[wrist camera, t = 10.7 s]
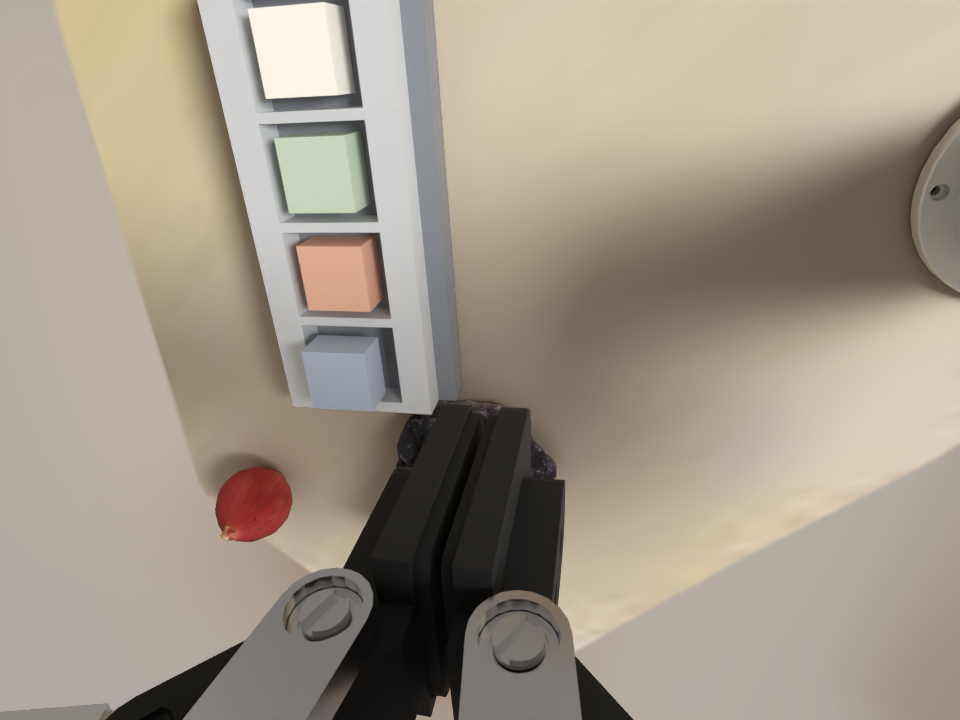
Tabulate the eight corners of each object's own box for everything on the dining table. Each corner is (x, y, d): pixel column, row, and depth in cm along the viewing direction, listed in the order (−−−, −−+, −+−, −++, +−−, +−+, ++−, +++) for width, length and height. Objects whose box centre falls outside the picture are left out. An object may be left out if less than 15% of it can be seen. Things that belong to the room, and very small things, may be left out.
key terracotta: (375, 235, 36) (360, 246, 34) (383, 297, 38) (370, 311, 36) (313, 235, 37) (295, 246, 35) (325, 296, 39) (308, 310, 37)
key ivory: (343, 6, 30) (323, 2, 28) (355, 93, 32) (337, 95, 30) (272, 12, 31) (247, 8, 29) (287, 96, 33) (265, 98, 31)
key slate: (377, 337, 37) (363, 354, 35) (385, 392, 39) (373, 411, 37) (318, 335, 38) (301, 351, 36) (329, 389, 40) (313, 408, 38)
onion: (312, 503, 51) (267, 573, 44) (254, 496, 52) (201, 563, 45) (301, 451, 48) (251, 516, 42) (240, 445, 50) (181, 507, 43)
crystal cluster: (530, 370, 42) (493, 441, 33) (584, 519, 46) (564, 617, 37) (380, 404, 47) (315, 472, 38) (440, 535, 51) (393, 624, 42)
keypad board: (430, -32, 31) (408, -44, 27) (462, 386, 42) (449, 415, 39) (215, -12, 33) (169, -20, 30) (302, 378, 45) (276, 405, 41)
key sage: (360, 130, 33) (343, 135, 31) (370, 203, 35) (355, 212, 33) (294, 133, 34) (273, 138, 32) (308, 204, 36) (289, 213, 34)
